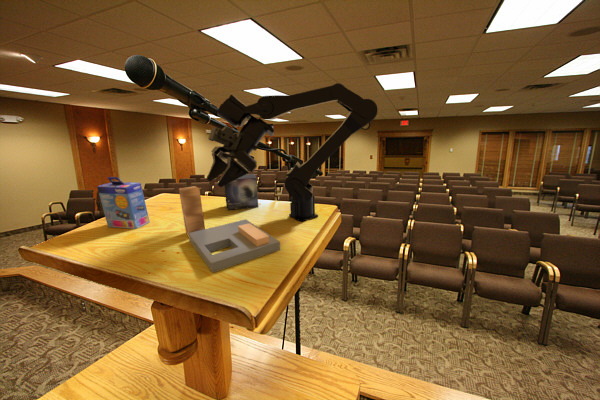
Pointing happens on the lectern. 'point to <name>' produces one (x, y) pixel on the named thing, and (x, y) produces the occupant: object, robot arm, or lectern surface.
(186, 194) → the ochre column
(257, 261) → the lectern surface
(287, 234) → the lectern surface
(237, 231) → the baseplate
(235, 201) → the small box
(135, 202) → the ink cartridge box
